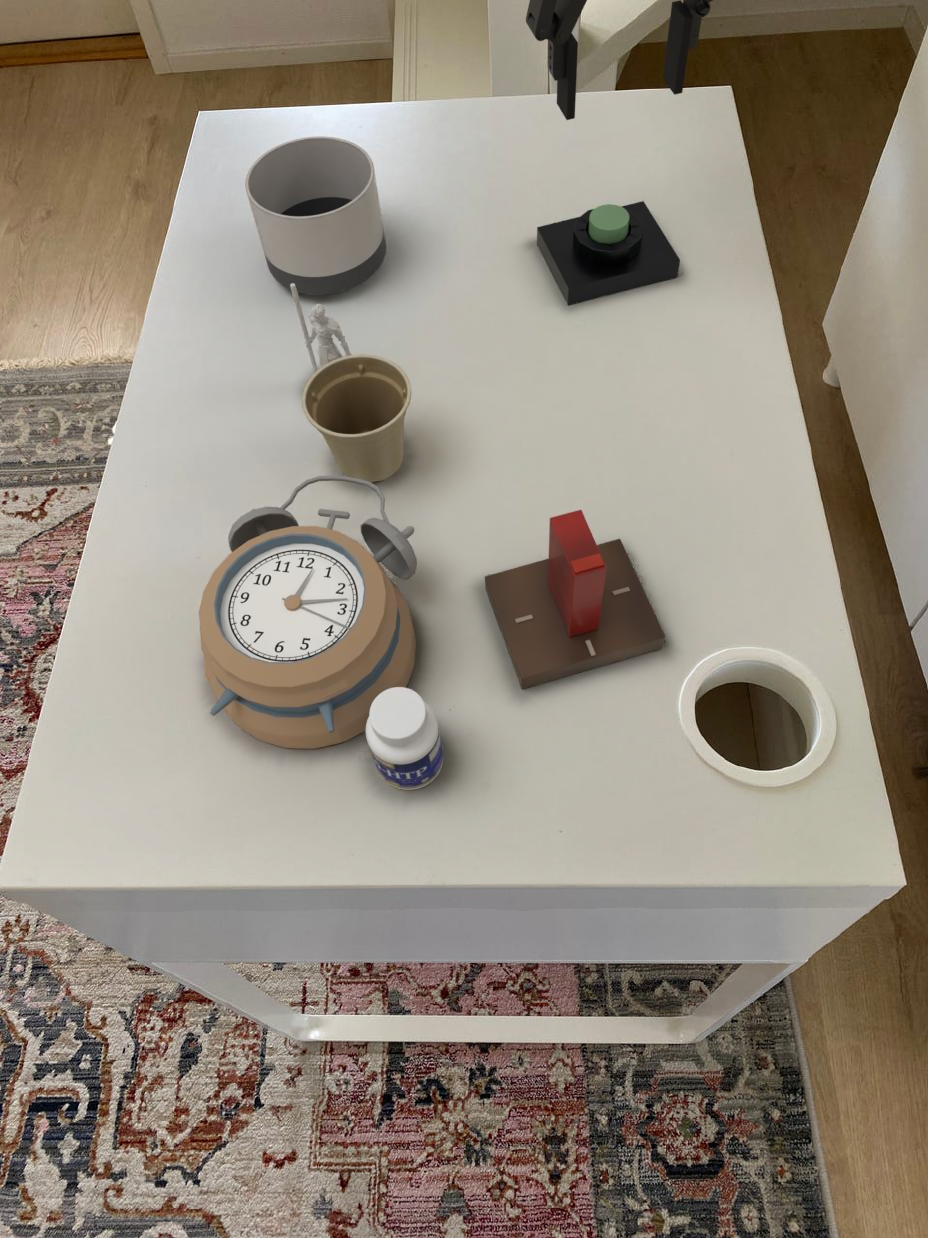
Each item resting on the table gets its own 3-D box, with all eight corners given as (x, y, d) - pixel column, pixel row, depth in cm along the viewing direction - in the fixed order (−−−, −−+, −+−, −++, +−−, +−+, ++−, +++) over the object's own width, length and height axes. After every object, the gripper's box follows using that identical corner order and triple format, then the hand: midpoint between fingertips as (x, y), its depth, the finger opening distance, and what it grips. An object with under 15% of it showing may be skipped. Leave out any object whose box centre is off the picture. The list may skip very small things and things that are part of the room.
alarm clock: (142, 684, 67) (237, 436, 78) (184, 735, 75) (264, 503, 86) (375, 717, 64) (438, 456, 76) (392, 766, 72) (447, 523, 84)
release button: (619, 214, 97) (620, 199, 96) (633, 238, 95) (635, 224, 94) (583, 223, 97) (583, 209, 96) (596, 248, 95) (597, 233, 94)
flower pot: (410, 504, 85) (399, 440, 77) (310, 494, 86) (289, 431, 79) (429, 425, 90) (420, 357, 82) (333, 417, 91) (315, 350, 83)
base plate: (618, 551, 81) (620, 536, 79) (662, 648, 76) (666, 635, 74) (485, 588, 80) (484, 575, 78) (521, 689, 75) (521, 677, 73)
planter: (247, 263, 103) (219, 177, 93) (339, 208, 106) (322, 120, 97) (317, 322, 97) (295, 236, 88) (412, 262, 101) (400, 174, 92)
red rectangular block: (547, 582, 78) (549, 515, 70) (576, 574, 78) (581, 506, 70) (569, 637, 75) (573, 575, 67) (599, 629, 75) (607, 565, 67)
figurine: (301, 397, 92) (272, 300, 82) (328, 361, 94) (303, 262, 84) (347, 413, 91) (324, 316, 80) (373, 376, 93) (353, 277, 83)
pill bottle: (370, 787, 72) (351, 743, 64) (383, 724, 74) (366, 674, 67) (439, 795, 71) (428, 751, 63) (449, 731, 74) (440, 681, 66)
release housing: (641, 218, 102) (645, 185, 99) (677, 277, 97) (682, 244, 94) (536, 244, 101) (537, 212, 98) (567, 305, 96) (569, 273, 93)
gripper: (509, -166, 62) (514, 150, 81) (819, -230, 64) (752, 93, 83) (477, -211, 66) (489, 102, 85) (770, -270, 68) (717, 49, 87)
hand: (619, 97), depth 84 cm, fingers open, 9 cm apart
